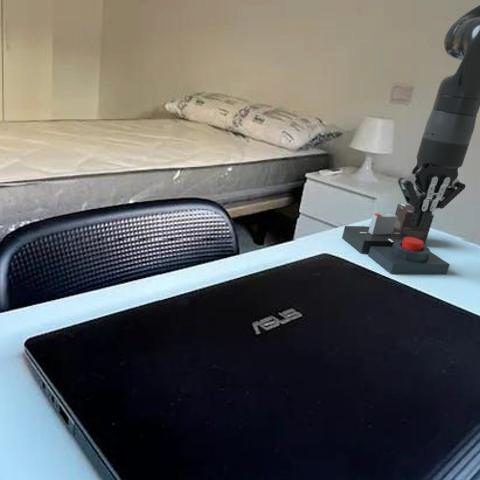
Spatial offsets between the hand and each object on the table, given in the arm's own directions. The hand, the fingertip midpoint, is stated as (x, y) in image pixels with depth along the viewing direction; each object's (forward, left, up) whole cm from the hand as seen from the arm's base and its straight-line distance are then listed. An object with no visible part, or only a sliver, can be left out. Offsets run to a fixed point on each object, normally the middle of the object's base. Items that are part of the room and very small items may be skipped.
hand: (417, 227), depth 96 cm
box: (-9, -13, -8) cm, 18 cm away
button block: (0, 0, -8) cm, 8 cm away
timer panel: (+1, -9, -8) cm, 12 cm away
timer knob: (+1, -9, -5) cm, 10 cm away
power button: (0, 0, -4) cm, 4 cm away
